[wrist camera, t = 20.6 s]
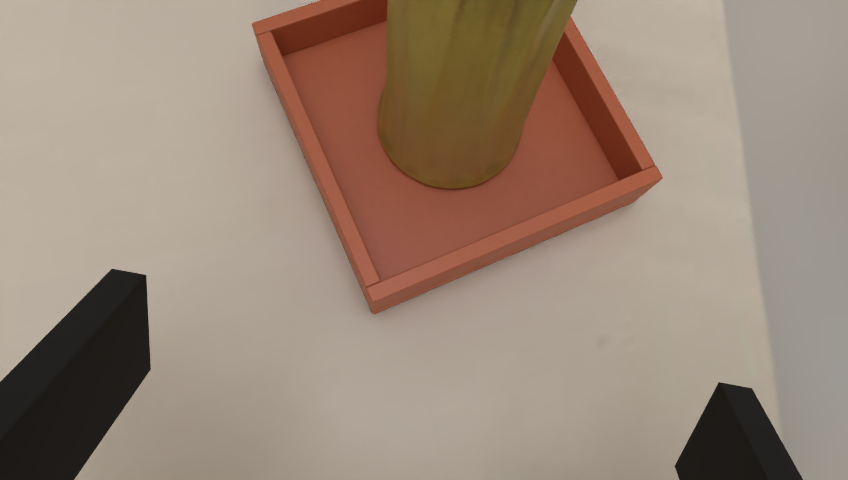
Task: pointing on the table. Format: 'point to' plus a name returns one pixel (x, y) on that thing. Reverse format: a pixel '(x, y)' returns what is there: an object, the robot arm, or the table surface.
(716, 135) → the table surface
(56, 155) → the table surface
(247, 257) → the table surface
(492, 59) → the vase
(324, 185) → the terracotta tray
